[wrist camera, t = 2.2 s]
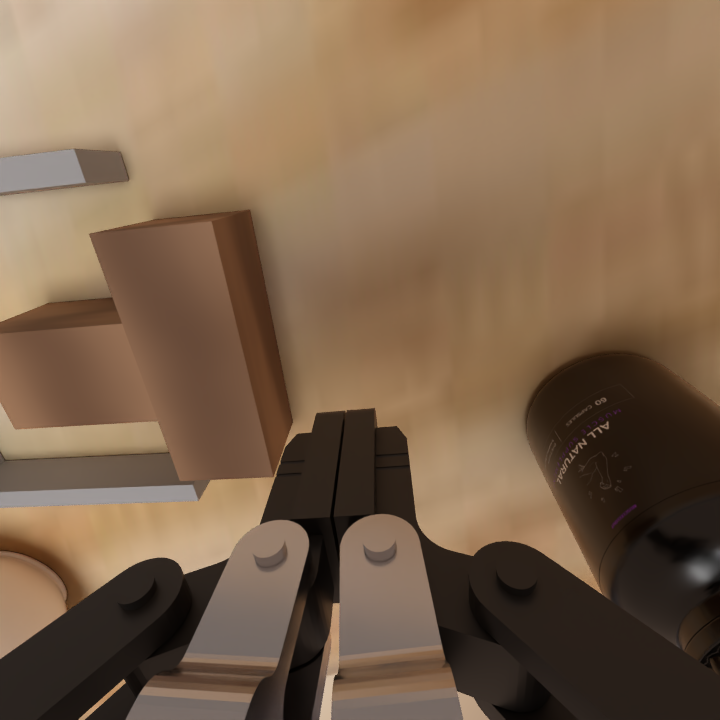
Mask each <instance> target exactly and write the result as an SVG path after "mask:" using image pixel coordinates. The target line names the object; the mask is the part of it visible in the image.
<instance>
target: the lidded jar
mask: <svg viewBox="0 0 720 720" xmlns="http://www.w3.org/2000/svg"><path fill="white" fill-rule="evenodd" d="M66 598H67V591H66V587H65V585H64V583H63V581H62V580H61V579H60V577H59V576H58V575H57V574H56V573H55V572H54V571H53V570H52V569H50V568H49V567H48V566H46V565H45V564H43V563H41V562H40V561H38V560H36V559H34V558H31V557H29V556H26V555H23V554H20V553H16V552H10V551H0V659H1V658H2V657H4V656H5V655H7V654H8V653H9V652H11V651H12V650H14V649H15V648H16V647H18V646H19V645H21V644H22V643H23V642H25V641H26V640H28V639H29V638H31V637H32V636H33V635H35V634H36V633H38V632H39V631H40V630H42V629H43V628H45V627H46V626H47V625H49V624H50V623H52V622H53V621H54V620H56V619H57V618H59V617H60V616H61V615H63V614H64V613H66V612H67V609H66V604H65V601H66Z"/></svg>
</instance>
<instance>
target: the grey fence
mask: <svg viewBox="0 0 720 720" xmlns="http://www.w3.org/2000/svg"><path fill="white" fill-rule="evenodd" d="M123 181H129V179H128V176H127V172H126V169H125V166H124V163H123V160H122V156H121V153H120V152H113V151H98V150H83V149H69V150H61V151H53V152H45V153H37V154H29V155H20V156H12V157H4V158H0V196H1V195H9V194H18V193H27V192H35V191H44V190H53V189H62V188H70V187H79V186H88V185H97V184H105V183H114V182H123ZM209 482H210V480H195V481H180V480H179V477H178V474H177V471H176V469H175V466H174V463H173V461H172V458H171V455H170V453H161V454H139V455H118V456H96V457H74V458H53V459H31V460H9V461H5V460H4V458H3V457H2V455H1V453H0V508H6V507H35V506H64V505H94V504H123V503H152V502H181V501H199V499H200V497H201V496H202V494H203V492H204V490H205V489H206V487H207V485H208V483H209Z"/></svg>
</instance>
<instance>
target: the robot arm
mask: <svg viewBox="0 0 720 720" xmlns="http://www.w3.org/2000/svg"><path fill="white" fill-rule="evenodd" d="M276 475H277V477H275V480H274V483H273V486H272V489H271V492H270V495H269V498H268V501H267V504H266V507H265V511H264V514H263V517H262V520H261V523H260V525H258V526H256V527H255V528H253V529H251V530H250V531H249V532H247V533H246V534H245V535H244V536H243V537H242V538H241V539H240V540H239V542H238V543H237V544H236V546H235V548H234V549H233V551H232V554H231V556H230V558H228V559H226V560H225V561H222V562H220V563H217V564H214V565H211V566H208V567H205V568H202V569H199V570H196V571H193V572H190V573H187V574H185V575H184V574H183V571H182V569H181V567H180V566H179V564H178V563H177V562H175V561H174V560H171V559H168V558H153V559H149V560H145V561H142V562H140V563H137V564H135V565H133V566H131V567H129V568H128V569H126V570H125V571H123V572H122V573H120V574H119V575H118V576H116V577H115V578H113V579H112V580H110V581H109V582H108V583H106V584H105V585H103V586H102V587H101V588H99V589H98V590H96V591H95V592H94V593H92V594H91V595H89V596H88V597H87V598H85V599H84V600H82V601H81V602H80V603H78V604H77V605H75V606H74V607H73V608H71V609H70V610H68V611H67V612H66V613H64V614H63V615H61V616H60V617H59V618H57V619H56V620H54V621H53V622H52V623H50V624H49V625H47V626H46V627H45V628H43V629H42V630H40V631H39V632H38V633H36V634H35V635H33V636H32V637H31V638H29V639H28V640H26V641H25V642H23V643H22V644H21V645H19V646H18V647H16V648H15V649H14V650H12V651H11V652H9V653H8V654H7V655H5V656H4V657H2V658H1V659H0V720H78V719H79V718H80V717H81V716H82V715H83V714H85V713H86V712H87V711H88V710H89V709H90V708H91V707H92V706H94V705H95V704H96V703H97V702H98V701H99V700H100V699H101V698H103V697H104V696H105V695H106V694H107V693H108V692H109V691H111V690H112V689H113V688H114V687H115V686H116V685H117V684H118V683H120V682H121V681H122V680H123V679H124V680H125V682H126V683H125V684H124V685H123V686H122V687H121V688H120V689H119V690H117V691H116V692H115V693H114V694H113V695H112V696H111V697H110V698H109V699H107V700H106V701H105V702H104V703H103V704H102V705H101V706H100V707H99V708H97V709H96V710H95V711H94V712H93V713H92V714H91V715H90V716H88V717H87V718H86V719H85V720H319V717H320V711H321V705H322V698H323V693H324V686H325V680H326V674H327V668H328V662H329V656H330V650H331V634H330V627H331V617H332V607H333V603H340V617H339V670H338V674H337V675H335V677H334V682H333V692H332V712H331V716H332V717H331V720H463V716H462V712H461V707H460V703H459V699H458V694H457V691H458V692H461V693H464V694H466V695H469V696H472V697H474V699H475V700H476V702H477V704H478V706H479V707H480V708H481V710H482V711H483V712H484V714H485V715H486V716H487V717H488V718H489V719H490V720H720V676H719V675H718V674H716V673H715V672H713V671H712V670H710V669H709V668H708V667H706V666H705V665H703V664H702V663H700V662H699V661H697V660H696V659H695V658H693V657H692V656H690V655H689V654H687V653H686V652H684V651H683V650H682V649H680V648H679V647H677V646H676V645H674V644H673V643H671V642H670V641H668V640H667V639H666V638H664V637H663V636H661V635H660V634H658V633H657V632H655V631H654V630H653V629H651V628H650V627H648V626H647V625H645V624H644V623H642V622H641V621H640V620H638V619H637V618H635V617H634V616H632V615H631V614H629V613H628V612H627V611H625V610H624V609H622V608H621V607H619V606H618V605H616V604H615V603H613V602H612V601H611V600H609V599H608V598H606V597H605V596H603V595H602V594H600V593H599V592H598V591H596V590H595V589H593V588H592V587H590V586H589V585H587V584H586V583H585V582H583V581H582V580H580V579H579V578H577V577H576V576H574V575H573V574H572V573H570V572H569V571H567V570H566V569H564V568H563V567H561V566H560V565H558V564H557V563H556V562H554V561H553V560H551V559H550V558H548V557H547V556H545V555H544V554H543V553H541V552H539V551H538V550H536V549H534V548H532V547H530V546H527V545H524V544H521V543H517V542H509V541H502V542H495V543H491V544H488V545H486V546H484V547H483V548H481V549H480V550H478V552H477V553H476V554H475V555H474V556H470V555H466V554H462V553H458V552H453V551H450V550H447V549H444V548H442V547H440V546H438V545H436V544H435V543H433V542H432V541H431V540H429V539H428V538H427V537H426V536H425V535H424V534H423V532H422V531H421V529H420V528H419V526H418V523H417V520H416V514H415V505H414V497H413V488H412V480H411V471H410V463H409V455H408V446H407V438H406V437H405V436H404V434H403V433H402V432H401V431H400V430H399V428H398V427H397V426H394V427H380V428H377V419H376V411H375V408H372V409H360V410H347V412H345V411H336V412H323V413H317V414H316V417H315V421H314V425H313V429H312V433H302V434H297V435H296V436H295V437H294V438H293V439H292V440H291V442H290V443H289V444H288V445H287V446H286V447H285V450H284V453H283V456H282V459H281V465H279V468H278V471H277V474H276Z"/></svg>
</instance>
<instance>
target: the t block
mask: <svg viewBox="0 0 720 720" xmlns="http://www.w3.org/2000/svg"><path fill="white" fill-rule="evenodd" d="M89 235H90V238H91V241H92V243H93V246H94V249H95V252H96V254H97V257H98V260H99V262H100V265H101V268H102V271H103V273H104V276H105V279H106V281H107V284H108V287H109V290H110V292H111V295H112V298H103V299H92V300H80V301H69V302H58V303H47V304H45V305H42V306H40V307H37V308H35V309H32V310H30V311H27V312H25V313H22V314H20V315H17V316H15V317H12V318H10V319H7V320H5V321H2V322H0V403H1V404H2V406H3V408H4V410H5V412H6V414H7V415H8V417H9V419H10V421H11V423H12V424H13V426H14V428H15V429H30V428H47V427H64V426H81V425H97V424H114V423H131V422H148V421H158V423H159V425H160V428H161V431H162V433H163V436H164V439H165V442H166V444H167V447H168V450H169V452H170V455H171V458H172V461H173V463H174V466H175V469H176V471H177V474H178V477H179V480H180V481H195V480H217V479H239V478H261V477H274V474H275V471H276V468H277V465H278V463H279V460H280V457H281V454H282V451H283V448H284V446H285V443H286V440H287V437H288V434H289V431H290V429H291V426H292V423H293V421H292V416H291V411H290V406H289V401H288V396H287V391H286V386H285V381H284V376H283V371H282V366H281V361H280V356H279V351H278V346H277V342H276V337H275V332H274V327H273V322H272V317H271V312H270V307H269V302H268V297H267V292H266V287H265V282H264V277H263V272H262V267H261V262H260V257H259V252H258V248H257V243H256V238H255V233H254V228H253V223H252V218H251V213H250V210H244V211H234V212H225V213H215V214H206V215H196V216H186V217H177V218H167V219H158V220H151V221H146V222H142V223H137V224H133V225H128V226H123V227H119V228H114V229H109V230H105V231H100V232H95V233H91V234H89Z"/></svg>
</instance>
